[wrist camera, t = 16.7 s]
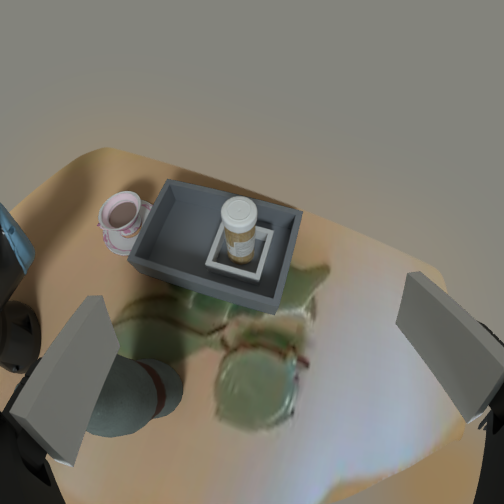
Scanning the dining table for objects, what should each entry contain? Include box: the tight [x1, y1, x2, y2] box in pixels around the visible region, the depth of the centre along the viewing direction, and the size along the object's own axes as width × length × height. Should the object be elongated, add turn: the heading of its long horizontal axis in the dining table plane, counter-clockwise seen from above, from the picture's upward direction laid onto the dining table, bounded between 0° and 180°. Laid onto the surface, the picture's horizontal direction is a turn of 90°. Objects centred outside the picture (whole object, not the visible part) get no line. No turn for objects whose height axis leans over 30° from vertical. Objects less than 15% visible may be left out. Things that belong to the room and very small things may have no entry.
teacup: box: [97, 191, 153, 256], centre depth 47 cm, size 12×12×6 cm
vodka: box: [14, 354, 183, 437], centre depth 24 cm, size 9×9×30 cm
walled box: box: [127, 179, 303, 315], centre depth 45 cm, size 24×16×6 cm, turn 74°
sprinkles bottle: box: [221, 196, 257, 265], centre depth 40 cm, size 5×5×13 cm
